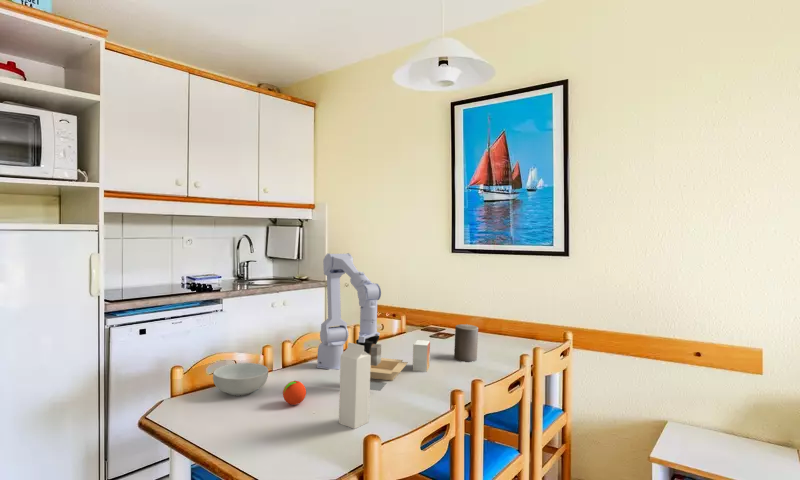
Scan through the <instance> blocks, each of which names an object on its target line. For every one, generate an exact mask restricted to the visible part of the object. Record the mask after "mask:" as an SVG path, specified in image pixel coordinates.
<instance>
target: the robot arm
mask: <svg viewBox="0 0 800 480" xmlns="http://www.w3.org/2000/svg"><path fill="white" fill-rule="evenodd" d="M323 274H324V276H326V289H327V291H326V292H327V293H326V294H327V295H326V296H327V298H326V299H327V300H326V301H327V318H326V319H325V321H323V322H322V323H321V326H320V332H319V338H320V341H321V342H320V343H319V344H318V347H317V357H316V358H317V360H316V361H317V362H316V363H317V366H316V368H317V369H325V370H336V371H337V370H338V371H340V360H341V355H342V354H343V352H344V345H346V342H347V341H348V339H349V336H350V335H349V329H348V323H347V321H345V320H344V319H342V313H341V312H342V308H341V306H342V305H341V277H342V276H343V275H345V274H346V275H348V277H349V278H350V283H351V286H352V287H354V290H356V292H357V298H358V304H359V307H360V308H359V309H360V312H359V313H360V316H359V318H360V319H359V332H358V338H357V339H356V341H355V344H358V345H363V346H364V352H366V353H368V354H370V349H371V346H372V344H378V341H379V339H380V335H381V333H380V332H378V301H379V300H380V299H381V296H382V291H381V286H380V285H379V283H375V282H372V281H371V280H370V279H369V277H368V276H367V275H366V274H365V272H364V271H359V270H358V269H357V267H356V266H355V264H354V257H353V256H352V254H351V253H349V252H348V253H326V255H324V258H323Z"/></svg>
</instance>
